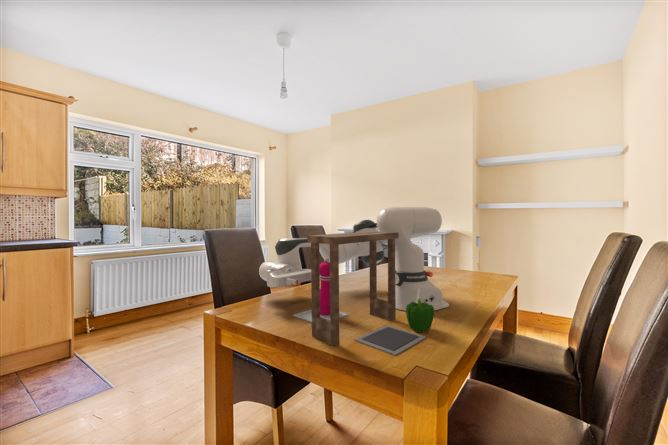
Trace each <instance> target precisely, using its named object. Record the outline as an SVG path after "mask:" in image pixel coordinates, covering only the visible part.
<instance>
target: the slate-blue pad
mask: <svg viewBox="0 0 668 445" xmlns="http://www.w3.org/2000/svg"><path fill="white" fill-rule="evenodd" d="M292 315H293V317H296V318H299V319H300V320H303V321H306V322H309V323H311V324H312V308H311V309H308V310H305V311H304V310H303V311H301V312H298V313H295V314H292ZM347 316H349V314H348V313H345V312H342V311H339V319H342V318H344V317H347ZM320 317H323V318H326V319H329V320H330V315H321V314H320Z"/></svg>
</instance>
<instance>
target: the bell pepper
mask: <svg viewBox="0 0 668 445" xmlns="http://www.w3.org/2000/svg"><path fill="white" fill-rule="evenodd" d="M405 315H406V320H407V323H408V327H409V328H410V329H411V330H413V331H415V332H416V333H426V332H428V331H429V330H430V329H431V328H432V324H433V319H434V317H435V316H434V315H435V310H434V308H433V306H432V305H428V304H427V303H425V302H423V303H421V299H418V303H415V302H411V303H410V304H407V307H406V311H405Z"/></svg>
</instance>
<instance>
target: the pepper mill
mask: <svg viewBox="0 0 668 445" xmlns="http://www.w3.org/2000/svg"><path fill="white" fill-rule="evenodd" d="M323 261H324V262H321V263H319V269H320V314H321V315H330V262H329V259H328V258H325V259H324V258H323Z"/></svg>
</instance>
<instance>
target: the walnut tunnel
mask: <svg viewBox="0 0 668 445" xmlns="http://www.w3.org/2000/svg"><path fill="white" fill-rule="evenodd" d="M306 238H307V242H309V243H311V246H310V267H311V268H310V269H311V280H310V281H311V284H310V286H311V289H310V290H311V295H310V296H311V309H312V323H311V337H313V338H315V339H317V340H320V341H323V342H325V343H327V344H329V345H332V346H334V347H337V346H340V318H339V312H340V269H339V268H340V264H339V245H340V244H349V243H359V242H368V241H369V260H370V264H369V316H374V317H378V318H381V319H384V320H388V321H391V322H395V321H396V319H397V318H396V314H397V313H396V310H397V309H396V290H395V239H397V238H399V232H374V231H369V232H354V231H353V232H345V233H344V232H343V233H329V234H312V235H307V237H306ZM378 240H388V245H387V300H386V299H381V298H378V296H377V295H378V294H377V293H378V290H377V288H378V286H377V285H378V283H377V282H378V281H377V278H378V276H377V275H378V274H377V273H378V272H377V271H378V269H377V265H378V263H377V258H376V241H378ZM319 243H320V244H330V320H329V319H326V318H323V317H320V287H321V280H320V269H319V265H320V252H319Z"/></svg>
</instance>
